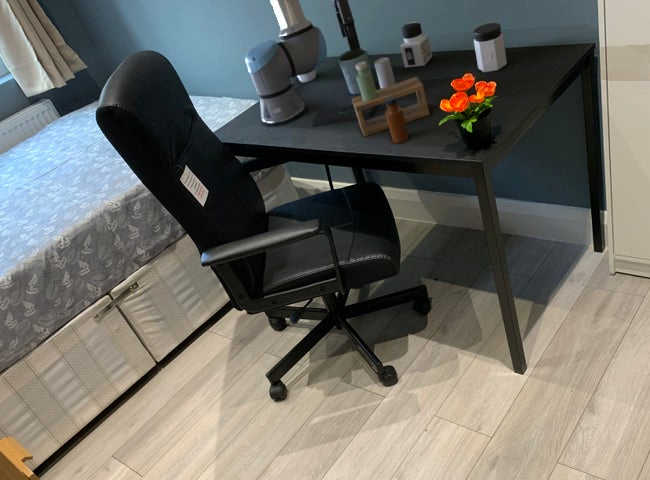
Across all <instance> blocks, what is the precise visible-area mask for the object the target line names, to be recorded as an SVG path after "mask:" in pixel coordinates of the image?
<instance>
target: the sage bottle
mask: <svg viewBox="0 0 650 480" xmlns="http://www.w3.org/2000/svg"><path fill="white" fill-rule="evenodd" d="M356 69H357V70H358V73H359V74H357V76H356V78H357V81H358V85H359V88H360V92H361V95H362V99H363V100H364V101H370V100H373V99H375V98H376V97H377V92H376V90H377V89H376V85H375V80H374V77H373V73H371V72H372V70H371V71H367V64H366V62H359V63H357V64H356ZM361 95H360V96H361Z"/></svg>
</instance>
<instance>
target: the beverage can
mask: <svg viewBox="0 0 650 480" xmlns="http://www.w3.org/2000/svg"><path fill="white" fill-rule="evenodd" d="M374 68H375V72H376V75H377V79H378V82H379V83H378V84H379V87H380V89H382V88H385V87H388V86H391V85H394V84H396V80H395V76H394V72H393V68H392V64H391V60H390V58H389V57H381V58H378V59H376V60H375V61H374Z"/></svg>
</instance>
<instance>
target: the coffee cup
mask: <svg viewBox="0 0 650 480" xmlns="http://www.w3.org/2000/svg"><path fill="white" fill-rule="evenodd" d="M297 77H298V81H300V82H301V83H308V82H311V81H313V80H315V79H316V77H317V72H316V68H315V69H311V70H309V71H306V72H304V73H302V74H300V75H298V76H297Z"/></svg>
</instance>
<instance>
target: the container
mask: <svg viewBox="0 0 650 480" xmlns="http://www.w3.org/2000/svg"><path fill="white" fill-rule="evenodd" d="M401 34H402V37H403V42H402V43H401V44H400V45H399V49H400V53H401V57H402V62H403V66H404V68H413V67H424V66H426V64H428V62H429V61H430V60H431V59H432V58H433V52H432V49H431V48H432V47H431V44H430V43H431V42H430V39H429V35H428V34H423V29H422V25H421V23H420V22H418V21H412V22H408V23H406V24H404V25H403V26H402V27H401Z"/></svg>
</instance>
